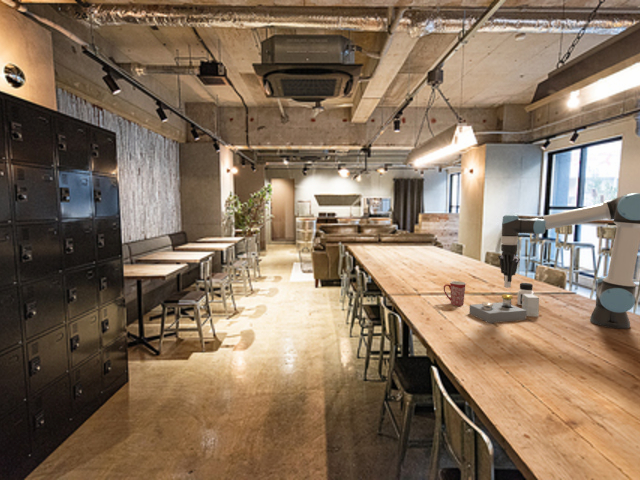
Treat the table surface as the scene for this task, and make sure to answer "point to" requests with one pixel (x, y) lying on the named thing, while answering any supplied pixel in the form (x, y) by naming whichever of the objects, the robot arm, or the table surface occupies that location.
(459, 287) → the mug
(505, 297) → the gold lidded glass jar
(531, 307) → the small box
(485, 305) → the plug cream
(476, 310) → the block
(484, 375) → the table surface
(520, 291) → the container
